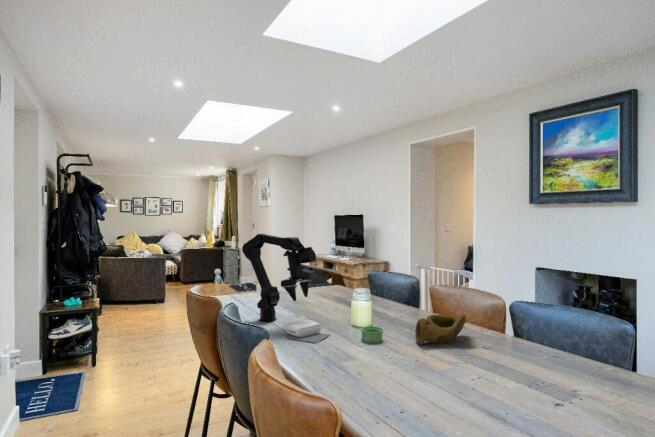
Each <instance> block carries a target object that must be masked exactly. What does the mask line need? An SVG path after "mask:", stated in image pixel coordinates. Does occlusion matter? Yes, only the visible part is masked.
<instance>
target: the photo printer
mask: <svg viewBox="0 0 655 437" xmlns="http://www.w3.org/2000/svg"><path fill="white" fill-rule="evenodd" d="M284 328H285V329H284V330H285V331H286V333H287V334H288V335H290V336H291V335H293V336H296V337H304V336H308V335H312V334H316V333H320V332H321V331H322V327H321V324H320V323H318V322H316V321H313V320H312V319H311V320H310V319H304V320H303V319H302V320H299V321H293V322H289V323H287V324H285V327H284Z"/></svg>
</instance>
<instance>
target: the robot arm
mask: <svg viewBox="0 0 655 437" xmlns="http://www.w3.org/2000/svg"><path fill="white" fill-rule="evenodd" d="M265 244H269V245H273V246H279V247H280V248H281V249H283V250H285V252H284V253H283V255H282V256H283V257H287V261H288V262H287V263H288V268H287V271H289V275H290V276H288V279H287V278H286V279H282V280H281V281H280V287H281V288H283V289H284V290H285V291H286V292H287V293H288V295H289V296H290V298H291V299H292V301H293V302H297V291H296V288H297V287H298V284H297V283H299V285H300V289H301V291H302V293H303V295H304V297H305V298H308V296H309V295H308V294H309V288H310V284H311V283H312V282H313V280H314V278H315V275H316V274H317V273H316V270H315V267H309V269H308V268H307V269H306V268H305V265H302V264H308V263H315V262H316V259H317V254H316V252H315V250H314V249H313V246H308V247H305V246H304V245H303V243H302V242H301V240H300V238H299V237H297V236H296V237H295V236H293V237H290V236H289V237H281V236H277V235H276V236H275V235H271V234H270V235H269V234H266V233H258V234H256V235H254V237H252V238H251V239H249V240H248V241H247V242H245V243H244V244H243V245H242V248H241V252H242V253H243V256H245V257H246V259H247V260H248V261H249V262H250V263H251V266H252V268H253V272H254V273H255V276H256V279H257V282H258V284H259V286H260V293H259V294H260V299H259V301H258V302H257V303H256V306H257V308H258V309H260V310H259V311H260V312H259V316H260V317H259V318H258V319H257V321H258V322H259V321H260V322H263V323H264V322H265V323H266V322H267V323H271V322H273V320H274V321H276V320H277V319H278V318H277V317H276V308H275V307H277V306H278V303H279V302H280V298H281V297H280V295H281V293H280V291H279V290H278V286H273V285H272V283H271V281H270V279H269V276H268V274H267V271H266V268H265V266H264V263H263V261H262V258H261V256H262V250H261V249H262V248H263V247H264V245H265Z"/></svg>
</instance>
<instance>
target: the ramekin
mask: <svg viewBox="0 0 655 437" xmlns="http://www.w3.org/2000/svg"><path fill="white" fill-rule="evenodd" d="M360 332H361V339H362V341H363V342H365V343H370V344H371V343H372V344H374V343H375V344H376V343H380V342H382V341H383V333H384V328H383V327H381V326H376V325H375V326H374V325H367V326H362V327H361V328H360Z"/></svg>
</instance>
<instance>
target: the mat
mask: <svg viewBox="0 0 655 437" xmlns="http://www.w3.org/2000/svg"><path fill="white" fill-rule="evenodd" d="M330 335H331V334H329V333H323V332H321V333H320V332H319V333H316V334H312V335H308V336H304V337H296V336H293V335H291V334H290V335H289V336H287V337H285V339H286V338H288V339H287V340H292V339H293V341H297V340H299V341H298V342H303V341H305V342H304V343H309V342H310V344H315V343H317V344H318V342H319V343H320V342H322V341H324V340H326V339H327V337H328V336H329V337H331V336H330ZM329 337H328V338H329ZM325 338H326V339H325ZM323 339H324V340H323Z"/></svg>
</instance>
